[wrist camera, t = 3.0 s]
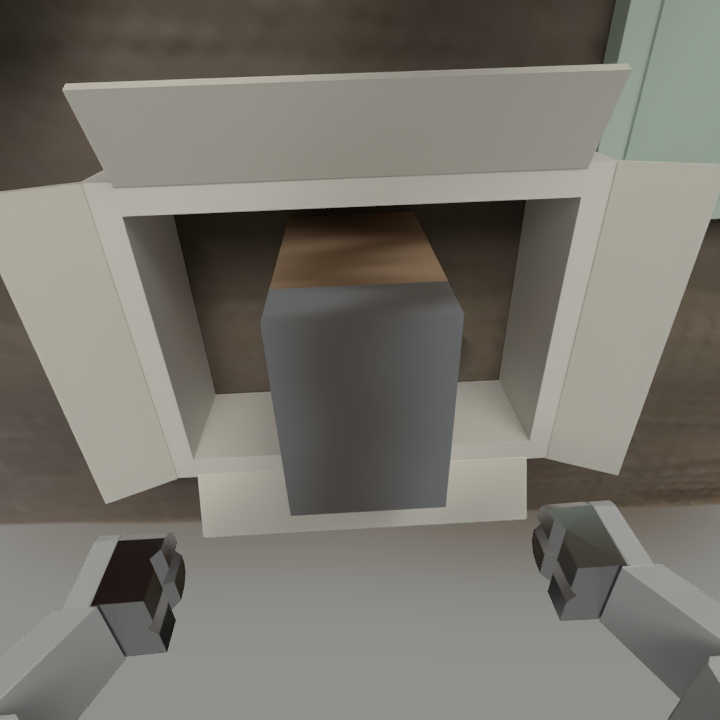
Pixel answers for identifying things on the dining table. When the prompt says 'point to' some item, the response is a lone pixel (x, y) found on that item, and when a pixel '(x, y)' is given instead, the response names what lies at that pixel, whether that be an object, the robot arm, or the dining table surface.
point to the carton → (352, 189)
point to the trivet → (666, 82)
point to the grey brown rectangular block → (362, 364)
